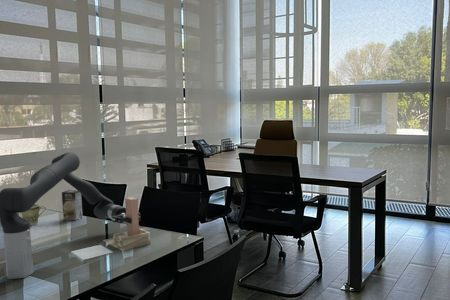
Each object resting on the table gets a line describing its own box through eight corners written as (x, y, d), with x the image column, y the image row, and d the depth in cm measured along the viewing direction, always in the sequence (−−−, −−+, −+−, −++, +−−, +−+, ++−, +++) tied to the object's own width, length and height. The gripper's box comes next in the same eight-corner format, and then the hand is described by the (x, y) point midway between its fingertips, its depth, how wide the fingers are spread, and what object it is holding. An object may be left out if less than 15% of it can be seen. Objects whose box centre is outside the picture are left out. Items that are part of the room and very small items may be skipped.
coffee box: (62, 219, 246) (60, 192, 245) (69, 217, 253) (67, 190, 251) (76, 220, 244) (74, 192, 242) (83, 217, 250) (81, 190, 249)
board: (139, 242, 194) (137, 198, 192) (133, 243, 192) (131, 199, 190) (133, 239, 199) (131, 196, 197) (127, 241, 197) (125, 197, 195)
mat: (113, 255, 182) (113, 252, 182) (83, 263, 174) (83, 259, 174) (100, 248, 193) (99, 244, 193) (71, 254, 185) (70, 251, 185)
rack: (150, 246, 193) (150, 232, 192) (121, 253, 184) (121, 239, 183) (130, 237, 208) (129, 223, 207) (102, 243, 199) (101, 229, 199)
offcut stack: (129, 245, 190) (129, 235, 189) (121, 247, 187) (120, 237, 187) (121, 241, 196) (120, 232, 196) (113, 243, 193) (112, 233, 193)
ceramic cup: (19, 227, 233) (18, 209, 233) (22, 222, 243) (21, 205, 242) (45, 224, 237) (44, 206, 236) (47, 220, 247) (46, 203, 246)
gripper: (103, 208, 201) (120, 214, 187) (131, 203, 210) (149, 209, 196) (104, 224, 201) (121, 231, 188) (132, 218, 210) (149, 225, 197)
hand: (135, 220), depth 192 cm, fingers open, 4 cm apart
